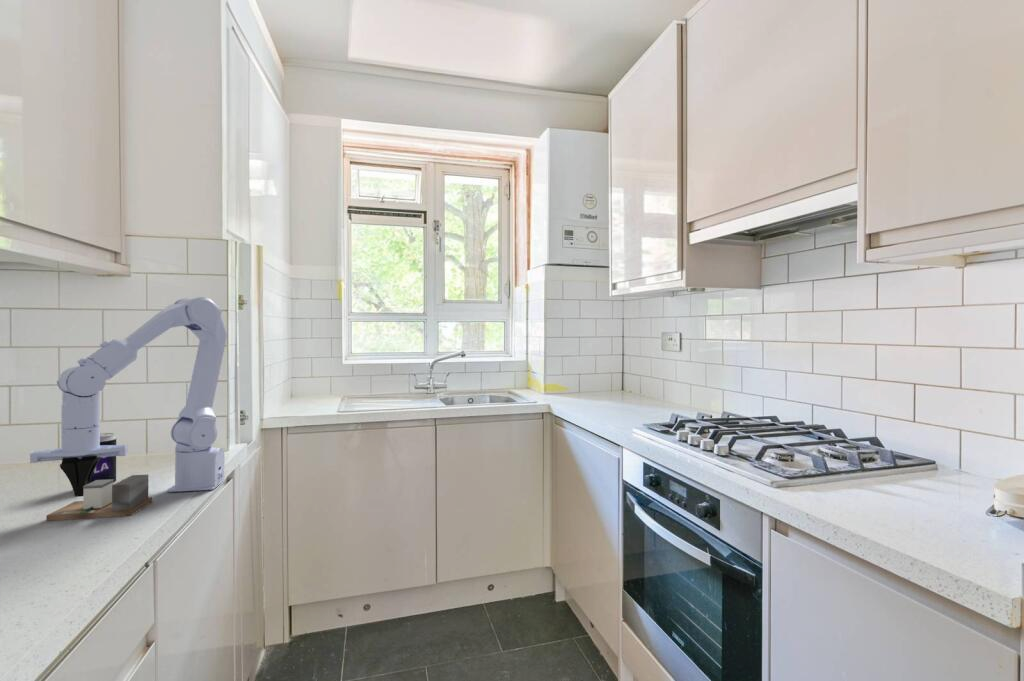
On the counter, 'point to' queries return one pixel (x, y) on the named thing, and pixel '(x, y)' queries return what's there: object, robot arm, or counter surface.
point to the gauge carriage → (97, 494)
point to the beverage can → (105, 461)
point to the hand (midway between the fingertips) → (80, 495)
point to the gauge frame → (124, 502)
